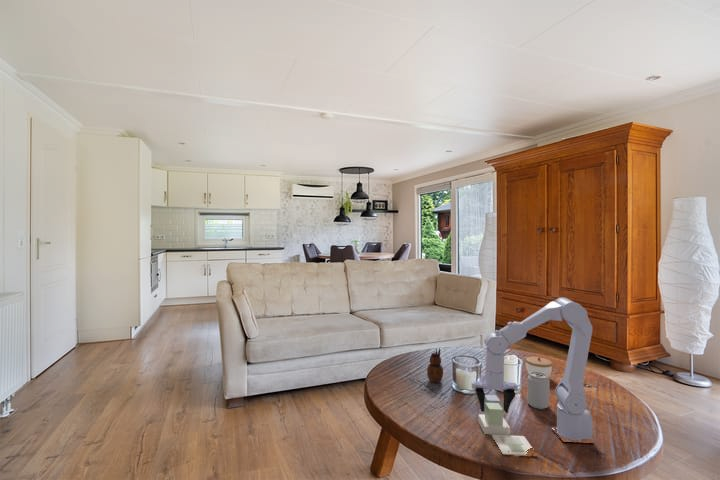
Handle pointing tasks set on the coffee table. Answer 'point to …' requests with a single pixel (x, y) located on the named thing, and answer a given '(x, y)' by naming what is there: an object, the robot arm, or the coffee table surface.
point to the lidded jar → (538, 365)
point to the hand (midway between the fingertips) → (493, 410)
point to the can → (538, 390)
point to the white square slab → (493, 427)
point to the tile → (512, 444)
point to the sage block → (494, 413)
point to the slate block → (491, 399)
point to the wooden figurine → (435, 368)
